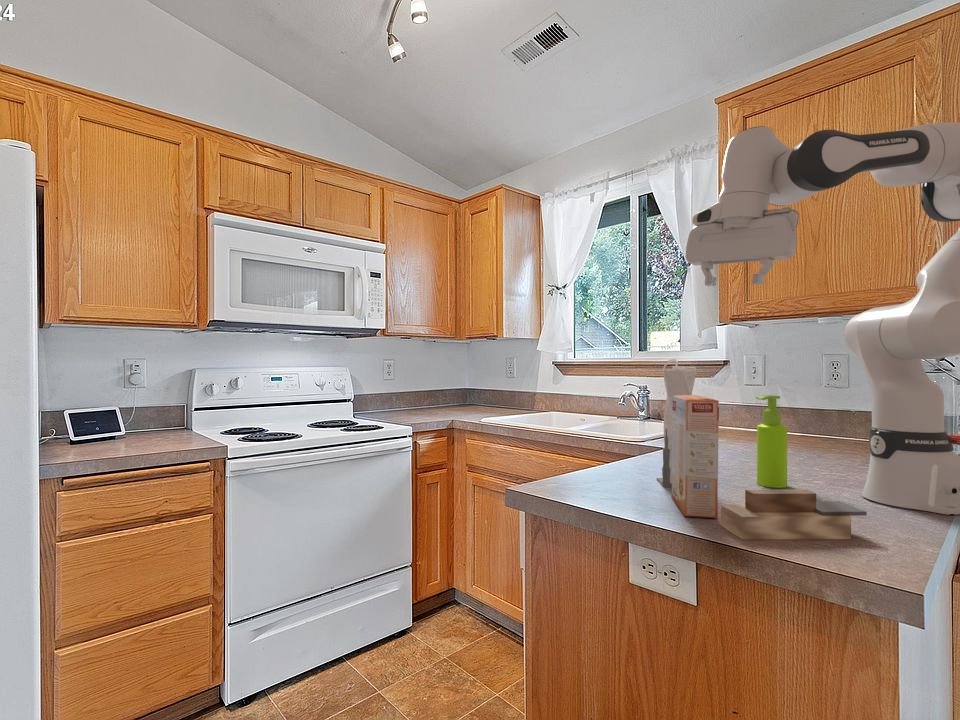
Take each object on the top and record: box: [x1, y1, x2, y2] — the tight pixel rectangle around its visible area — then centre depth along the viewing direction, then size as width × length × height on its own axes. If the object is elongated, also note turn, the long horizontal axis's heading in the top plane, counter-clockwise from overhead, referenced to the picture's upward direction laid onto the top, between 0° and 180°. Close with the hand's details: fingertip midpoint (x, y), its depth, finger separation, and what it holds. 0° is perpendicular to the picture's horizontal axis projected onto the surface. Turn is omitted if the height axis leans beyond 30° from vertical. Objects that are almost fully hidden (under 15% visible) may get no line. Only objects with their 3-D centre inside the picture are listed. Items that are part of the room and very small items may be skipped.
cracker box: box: [671, 394, 720, 519], centre depth 98 cm, size 14×6×21 cm, turn 168°
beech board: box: [720, 503, 852, 540], centre depth 84 cm, size 17×7×4 cm, turn 91°
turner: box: [744, 489, 868, 517], centre depth 84 cm, size 17×6×3 cm, turn 91°
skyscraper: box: [656, 359, 698, 488], centre depth 118 cm, size 8×8×28 cm
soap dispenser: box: [755, 394, 788, 489], centre depth 116 cm, size 6×7×20 cm
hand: (733, 284), depth 101 cm, fingers open, 8 cm apart
